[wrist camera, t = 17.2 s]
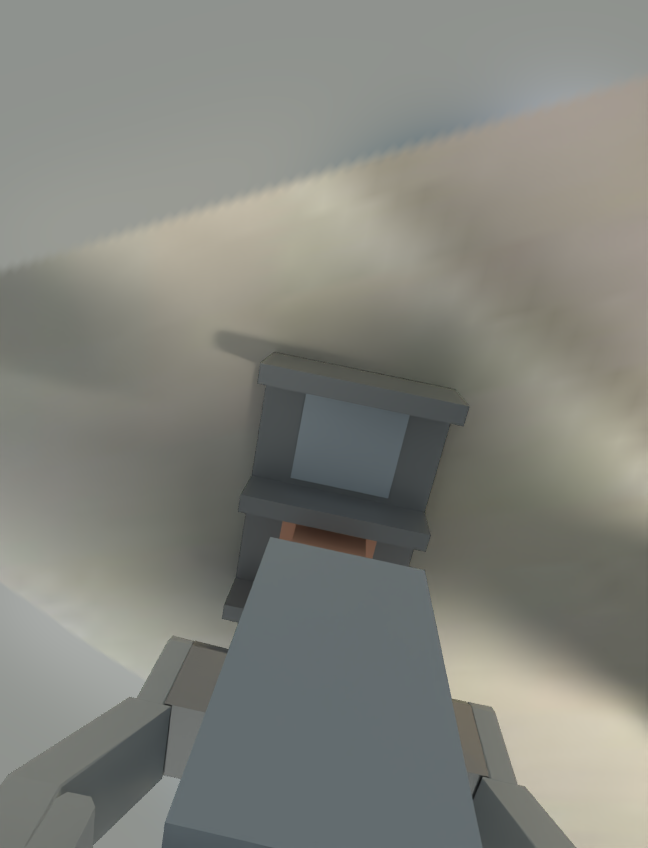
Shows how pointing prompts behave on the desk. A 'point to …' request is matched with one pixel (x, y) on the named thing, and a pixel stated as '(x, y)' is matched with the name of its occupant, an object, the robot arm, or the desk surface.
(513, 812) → the robot arm
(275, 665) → the slate-blue plug
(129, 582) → the desk surface
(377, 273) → the desk surface
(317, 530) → the terracotta plug
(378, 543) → the slot dock
